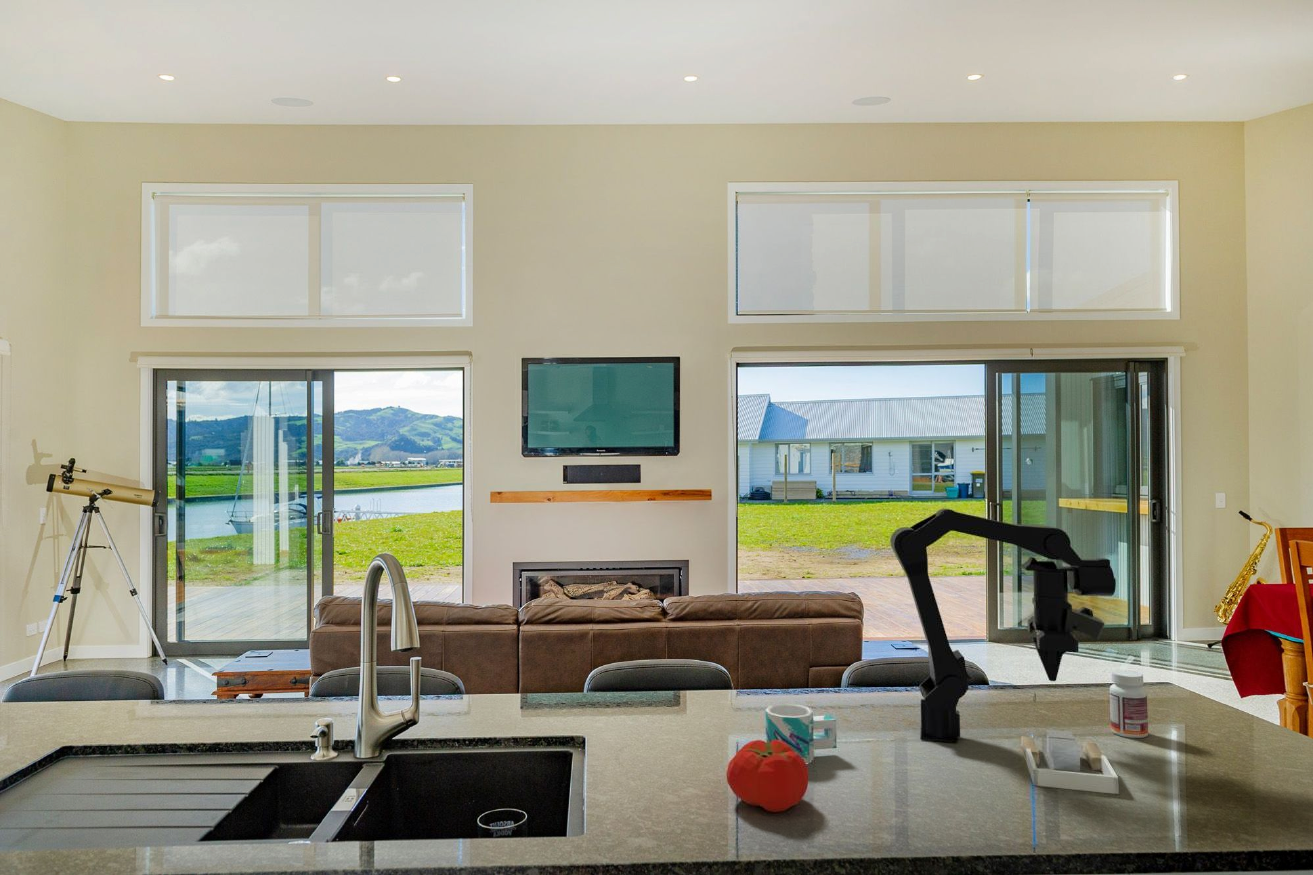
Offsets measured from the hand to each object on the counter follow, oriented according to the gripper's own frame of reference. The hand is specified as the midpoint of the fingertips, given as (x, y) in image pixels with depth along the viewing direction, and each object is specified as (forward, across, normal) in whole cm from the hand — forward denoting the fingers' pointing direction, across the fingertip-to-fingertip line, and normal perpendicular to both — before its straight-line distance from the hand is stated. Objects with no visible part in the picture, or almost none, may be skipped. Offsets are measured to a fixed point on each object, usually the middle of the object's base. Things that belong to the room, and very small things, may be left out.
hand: (1052, 680), depth 151 cm
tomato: (+12, -42, +45) cm, 62 cm away
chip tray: (+11, -18, 0) cm, 21 cm away
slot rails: (+11, -9, 0) cm, 14 cm away
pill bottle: (+11, +9, -14) cm, 20 cm away
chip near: (+11, -12, 0) cm, 17 cm away
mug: (+12, -21, +43) cm, 49 cm away
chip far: (+11, -8, 0) cm, 14 cm away
